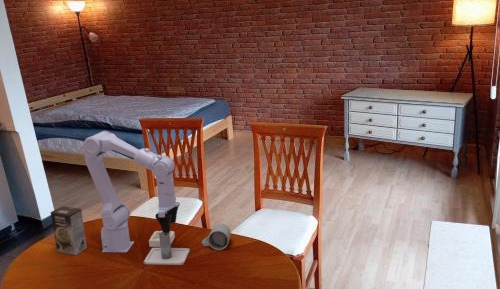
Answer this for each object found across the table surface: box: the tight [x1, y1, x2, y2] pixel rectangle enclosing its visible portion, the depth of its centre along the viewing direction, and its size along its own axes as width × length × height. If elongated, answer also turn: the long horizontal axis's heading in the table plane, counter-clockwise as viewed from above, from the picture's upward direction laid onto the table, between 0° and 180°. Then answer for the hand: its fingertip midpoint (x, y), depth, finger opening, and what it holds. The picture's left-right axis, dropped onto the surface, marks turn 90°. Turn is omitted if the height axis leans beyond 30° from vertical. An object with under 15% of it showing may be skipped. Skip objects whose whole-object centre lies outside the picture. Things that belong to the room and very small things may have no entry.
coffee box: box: [50, 205, 88, 256], centre depth 164 cm, size 9×6×16 cm
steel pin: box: [159, 232, 172, 259], centre depth 156 cm, size 4×4×9 cm
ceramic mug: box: [201, 223, 232, 251], centre depth 165 cm, size 11×8×8 cm
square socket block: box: [148, 230, 176, 248], centre depth 168 cm, size 8×8×3 cm
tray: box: [142, 247, 191, 266], centre depth 158 cm, size 14×10×1 cm
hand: (169, 227), depth 159 cm, fingers open, 7 cm apart
